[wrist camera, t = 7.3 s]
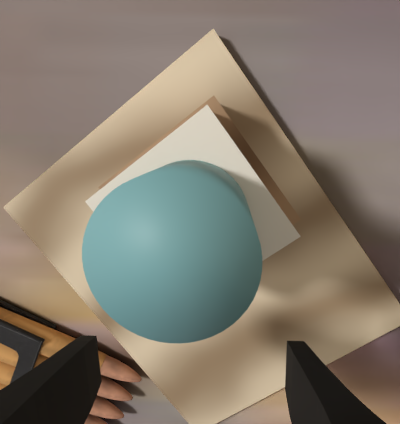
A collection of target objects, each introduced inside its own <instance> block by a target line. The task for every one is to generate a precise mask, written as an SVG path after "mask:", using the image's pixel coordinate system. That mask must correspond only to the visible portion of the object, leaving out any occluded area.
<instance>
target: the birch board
mask: <svg viewBox="0 0 400 424" xmlns="http://www.w3.org/2000/svg"><path fill="white" fill-rule="evenodd" d="M213 95H214V96H215V97H216V99H217V100H218V102H219V103H220V105H221V106H222V107H223V109H224V110H225V112H226V113H227V115H228V116H229V117H230V119H231V120H232V122H233V123H234V125H235V126H236V127H237V129H238V130H239V132H240V133H241V135H242V136H243V137H244V139H245V140H246V142H247V143H248V145H249V146H250V147H251V149H252V150H253V152H254V153H255V155H256V156H257V157H258V159H259V160H260V162H261V163H262V165H263V166H264V167H265V169H266V170H267V172H268V173H269V175H270V176H271V177H272V179H273V180H274V182H275V183H276V185H277V186H278V187H279V189H280V190H281V192H282V193H283V195H284V196H285V197H286V199H287V200H288V202H289V203H290V204H291V206H292V207H293V209H294V210H295V212H296V213H297V214H298V216H299V217H300V219H301V220H300V221H298V222H297V223H295V224H294V225H293V226H294V228H295V229H296V231H297V232H298V233H299V235H300V236H301V237H299V238H298V239H296V240H295V241H293V242H291V243H290V244H288V245H287V246H285V247H284V248H282V249H280V250H279V251H277V252H276V253H274V254H273V255H271V256H269V257H268V258H266V259H265V260H263V261H262V274H261V280H260V284H259V287H258V290H257V293H256V295H255V297H254V299H253V301H252V303H251V304H250V306H249V307H248V309H247V310H246V312H245V313H244V314H243V315H242V316H241V317H240V318H239V319H238V320H237V321H236V322H235V323H234V324H233V325H231V326H230V327H229V328H227V329H226V330H224V331H223V332H221V333H219V334H217V335H215V336H212V337H210V338H207V339H204V340H200V341H196V342H191V343H164V342H158V341H154V340H150V339H147V338H144V337H141V336H139V335H136V334H135V333H133V332H131V331H129V330H127V329H125V328H124V327H122V326H121V325H119V324H118V323H117V322H116V321H115V320H113V319H112V318H111V317H110V316H109V315H108V314H107V313H106V312H105V311H104V310H103V309H102V307H101V306H100V305H99V303H98V302H97V301H96V299H95V297H94V295H93V294H92V292H91V290H90V288H89V285H88V283H87V281H86V277H85V273H84V269H83V262H82V244H83V237H84V233H85V230H86V226H87V224H88V222H89V219H90V217H91V215H92V214H93V211H92V210H91V208H90V207H89V206H88V205H87V203H86V202H85V201H86V200H88V199H89V198H90V197H91V196H93V195H94V194H95V193H96V192H98V191H99V190H100V189H99V188H98V187H99V186H100V185H102V184H103V183H104V182H105V181H107V180H108V179H109V178H111V177H112V176H113V175H114V174H116V173H117V172H118V171H119V170H121V169H122V168H123V167H124V166H126V165H127V164H128V163H129V162H131V161H132V160H133V159H134V158H136V157H137V156H138V155H139V154H141V153H142V152H143V151H144V150H146V149H147V148H148V147H149V146H151V145H152V144H153V143H154V142H156V141H157V140H158V139H159V138H161V137H162V136H163V135H165V134H166V133H167V132H168V131H170V130H171V129H172V128H173V127H175V126H176V125H177V124H178V123H180V122H181V121H182V120H183V119H185V118H186V117H187V116H188V115H190V114H191V113H192V112H193V111H195V110H196V109H197V108H198V107H200V106H201V105H202V104H203V103H205V102H206V101H207V100H208V99H210V98H211V97H212V96H213ZM3 208H4V209H5V210H6V211H7V212H8V213H9V215H10V216H11V217H12V218H13V219H14V220H15V221H16V223H17V224H18V225H19V226H20V227H21V228H22V230H23V231H24V232H25V233H26V234H27V235H28V237H29V238H30V239H31V240H32V241H33V242H34V244H35V245H36V246H37V247H38V248H39V249H40V251H41V252H42V253H43V254H44V255H45V256H46V258H47V259H48V260H49V261H50V262H51V263H52V265H53V266H54V267H55V268H56V269H57V270H58V272H59V273H60V274H61V275H62V276H63V277H64V279H65V280H66V281H67V282H68V283H69V284H70V286H71V287H72V288H73V289H74V290H75V291H76V293H77V294H78V295H79V296H80V297H81V298H82V300H83V301H84V302H85V303H86V304H87V305H88V307H89V308H90V309H91V310H92V311H93V312H94V314H95V315H96V316H97V317H98V318H99V319H100V321H101V322H102V323H103V324H104V325H105V326H106V328H107V329H108V330H109V331H110V332H111V333H112V335H113V336H114V337H115V338H116V339H117V340H118V342H119V343H120V344H121V345H122V346H123V347H124V349H125V350H126V351H127V352H128V353H129V354H130V356H131V357H132V358H133V359H134V360H135V361H136V363H137V364H138V365H139V366H140V367H141V368H142V370H143V371H144V372H145V373H146V374H147V375H148V377H149V378H150V379H151V380H152V381H153V382H154V383H155V385H156V386H157V387H158V388H159V389H160V390H161V392H162V393H163V394H164V395H165V396H166V397H167V399H168V400H169V401H170V402H171V403H172V404H173V406H174V407H175V408H176V409H177V410H178V411H179V413H180V414H181V415H182V416H183V417H184V418H185V420H186V421H187V422H188V423H189V424H216V423H218V422H220V421H222V420H224V419H226V418H228V417H230V416H231V415H233V414H235V413H237V412H239V411H241V410H243V409H245V408H246V407H248V406H250V405H252V404H254V403H256V402H258V401H260V400H262V399H263V398H265V397H267V396H269V395H271V394H273V393H275V392H277V391H278V390H280V389H282V388H284V387H285V379H286V351H287V341H304V342H305V343H306V344H307V345H308V346H309V347H310V348H311V349H312V351H313V352H314V353H315V354H316V355H317V356H318V357H319V359H320V360H321V361H322V362H323V363H324V364H325V365H327V364H329V363H331V362H333V361H335V360H337V359H339V358H341V357H343V356H344V355H346V354H348V353H350V352H352V351H354V350H356V349H358V348H359V347H361V346H363V345H365V344H367V343H369V342H371V341H373V340H375V339H376V338H378V337H380V336H382V335H384V334H386V333H388V332H390V331H391V330H393V329H395V328H397V327H399V326H400V303H399V302H398V300H397V299H396V298H395V296H394V295H393V293H392V292H391V290H390V289H389V287H388V286H387V284H386V283H385V281H384V280H383V278H382V277H381V275H380V274H379V272H378V271H377V270H376V268H375V267H374V265H373V264H372V262H371V261H370V259H369V258H368V256H367V255H366V253H365V252H364V250H363V249H362V247H361V246H360V244H359V243H358V241H357V240H356V239H355V237H354V236H353V234H352V233H351V231H350V230H349V228H348V227H347V225H346V224H345V222H344V221H343V219H342V218H341V216H340V215H339V213H338V212H337V211H336V209H335V208H334V206H333V205H332V203H331V202H330V200H329V199H328V197H327V196H326V194H325V193H324V191H323V190H322V188H321V187H320V185H319V184H318V183H317V181H316V180H315V178H314V177H313V175H312V174H311V172H310V171H309V169H308V168H307V166H306V165H305V163H304V162H303V160H302V159H301V157H300V156H299V154H298V153H297V152H296V150H295V149H294V147H293V146H292V144H291V143H290V141H289V140H288V138H287V137H286V135H285V134H284V132H283V131H282V129H281V128H280V126H279V125H278V124H277V122H276V121H275V119H274V118H273V116H272V115H271V113H270V112H269V110H268V109H267V107H266V106H265V104H264V103H263V101H262V100H261V98H260V97H259V95H258V94H257V93H256V91H255V90H254V88H253V87H252V85H251V84H250V82H249V81H248V79H247V78H246V76H245V75H244V73H243V72H242V70H241V69H240V67H239V66H238V65H237V63H236V62H235V60H234V59H233V57H232V56H231V54H230V53H229V51H228V50H227V48H226V47H225V45H224V44H223V42H222V41H221V39H220V38H219V36H218V35H217V34H216V32H215V31H214V29H212V30H211V31H210V32H209V33H208V34H206V35H205V36H204V37H203V38H202V39H201V40H199V41H198V42H197V43H196V44H195V45H193V46H192V47H191V48H190V49H189V50H188V51H186V52H185V53H184V54H183V55H182V56H181V57H179V58H178V59H177V60H176V61H175V62H173V63H172V64H171V65H170V66H169V67H168V68H166V69H165V70H164V71H163V72H162V73H161V74H159V75H158V76H157V77H156V78H155V79H153V80H152V81H151V82H150V83H149V84H148V85H146V86H145V87H144V88H143V89H142V90H141V91H139V92H138V93H137V94H136V95H135V96H133V97H132V98H131V99H130V100H129V101H128V102H126V103H125V104H124V105H123V106H122V107H121V108H119V109H118V110H117V111H116V112H115V113H113V114H112V115H111V116H110V117H109V118H108V119H106V120H105V121H104V122H103V123H102V124H101V125H99V126H98V127H97V128H96V129H95V130H93V131H92V132H91V133H90V134H89V135H88V136H86V137H85V138H84V139H83V140H82V141H81V142H79V143H78V144H77V145H76V146H75V147H73V148H72V149H71V150H70V151H69V152H68V153H66V154H65V155H64V156H63V157H62V158H61V159H59V160H58V161H57V162H56V163H55V164H53V165H52V166H51V167H50V168H49V169H48V170H46V171H45V172H44V173H43V174H42V175H41V176H39V177H38V178H37V179H36V180H35V181H34V182H32V183H31V184H30V185H29V186H28V187H26V188H25V189H24V190H23V191H22V192H21V193H19V194H18V195H17V196H16V197H15V198H14V199H12V200H11V201H10V202H9V203H8V204H6V205H5V206H4V207H3Z"/></svg>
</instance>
